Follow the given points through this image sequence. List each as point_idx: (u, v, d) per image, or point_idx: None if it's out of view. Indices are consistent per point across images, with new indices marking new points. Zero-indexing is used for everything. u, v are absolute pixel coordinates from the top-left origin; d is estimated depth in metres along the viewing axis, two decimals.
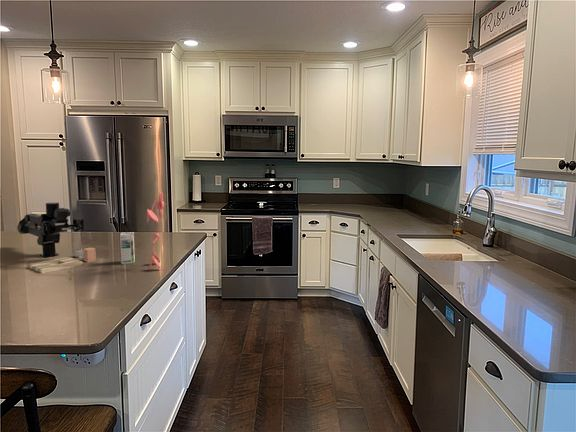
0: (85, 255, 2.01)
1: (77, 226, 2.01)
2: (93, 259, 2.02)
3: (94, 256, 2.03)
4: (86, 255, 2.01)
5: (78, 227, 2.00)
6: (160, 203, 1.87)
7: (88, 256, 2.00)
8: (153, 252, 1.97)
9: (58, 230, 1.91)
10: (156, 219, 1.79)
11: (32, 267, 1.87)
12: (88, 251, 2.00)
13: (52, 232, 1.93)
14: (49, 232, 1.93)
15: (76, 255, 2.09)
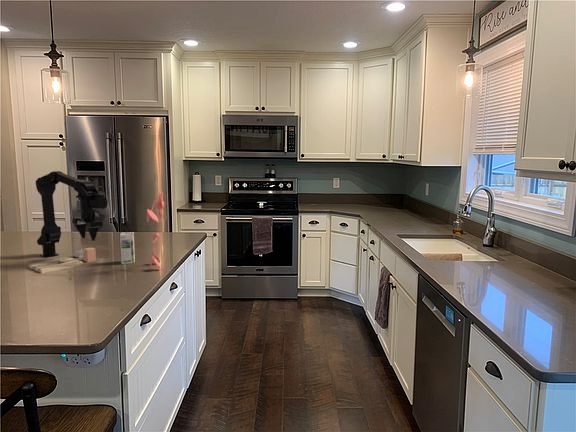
0: (85, 255, 2.01)
1: (83, 229, 2.04)
2: (93, 259, 2.02)
3: (94, 256, 2.03)
4: (86, 255, 2.01)
5: (83, 231, 2.04)
6: (160, 203, 1.87)
7: (88, 256, 2.00)
8: (153, 252, 1.97)
9: (93, 237, 1.98)
10: (156, 219, 1.79)
11: (32, 267, 1.87)
12: (88, 251, 2.00)
13: (91, 230, 1.96)
14: (91, 228, 1.95)
15: (76, 255, 2.09)
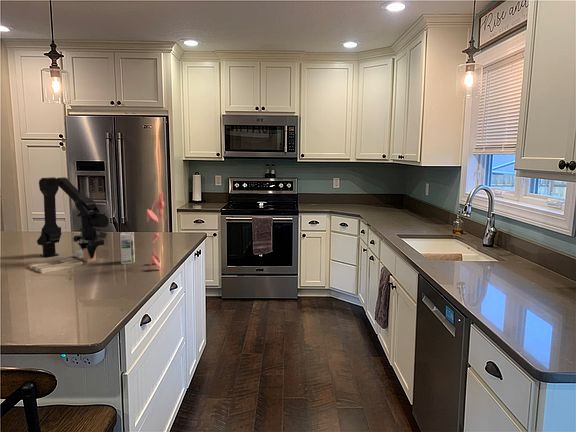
0: (85, 255, 2.01)
1: None
2: (93, 259, 2.02)
3: (94, 256, 2.03)
4: (86, 255, 2.01)
5: None
6: (160, 203, 1.87)
7: (88, 256, 2.00)
8: (153, 252, 1.97)
9: (91, 255, 2.01)
10: (156, 219, 1.79)
11: (32, 267, 1.87)
12: None
13: (89, 248, 1.98)
14: (90, 246, 1.98)
15: (76, 255, 2.09)
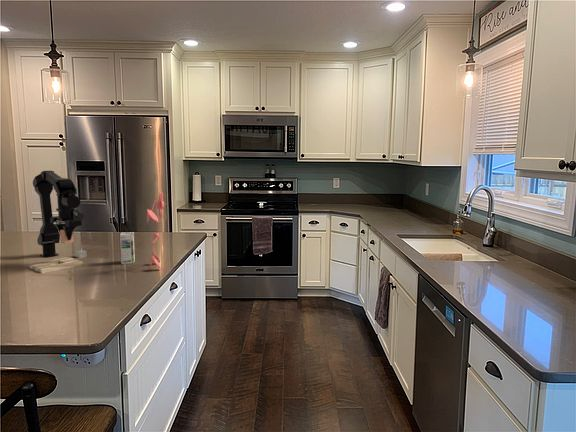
0: (62, 236, 1.93)
1: (64, 229, 1.95)
2: (71, 241, 1.94)
3: (72, 237, 1.94)
4: (63, 236, 1.92)
5: None
6: (160, 203, 1.87)
7: (65, 237, 1.92)
8: (153, 252, 1.97)
9: (69, 236, 1.92)
10: (156, 219, 1.79)
11: (32, 267, 1.87)
12: None
13: (66, 229, 1.90)
14: None
15: (76, 255, 2.09)
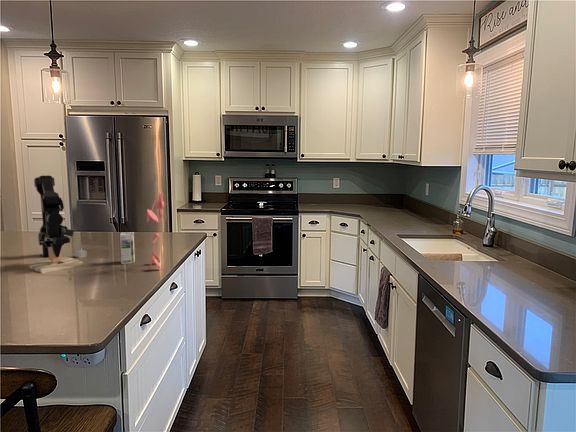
0: (50, 254, 1.90)
1: None
2: (59, 258, 1.91)
3: (60, 254, 1.92)
4: (51, 254, 1.90)
5: None
6: (160, 203, 1.87)
7: (53, 255, 1.89)
8: (153, 252, 1.97)
9: (57, 253, 1.90)
10: (156, 219, 1.79)
11: (32, 267, 1.87)
12: None
13: (54, 246, 1.87)
14: (54, 244, 1.87)
15: (76, 255, 2.09)
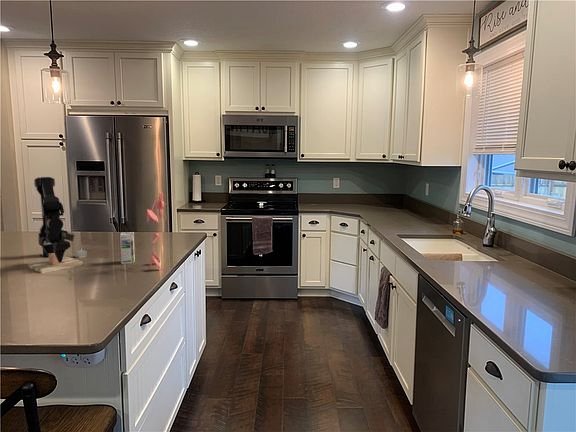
0: (50, 260, 1.91)
1: (50, 249, 1.94)
2: None
3: None
4: (51, 260, 1.90)
5: (50, 252, 1.94)
6: (160, 203, 1.87)
7: (53, 261, 1.90)
8: (153, 252, 1.97)
9: (59, 259, 1.89)
10: (156, 219, 1.79)
11: (32, 267, 1.87)
12: (53, 256, 1.89)
13: (57, 252, 1.86)
14: None
15: (76, 255, 2.09)
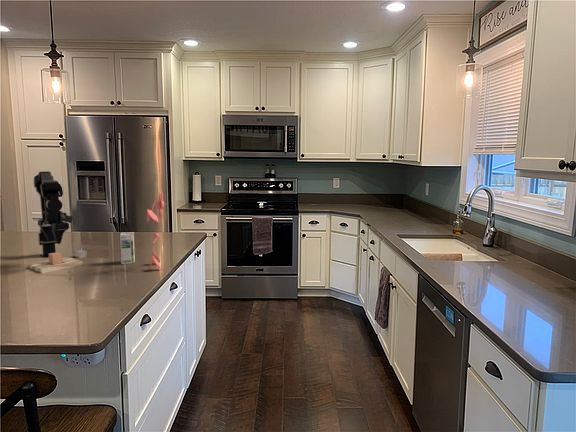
0: (50, 260, 1.91)
1: (49, 231, 1.95)
2: None
3: (60, 261, 1.92)
4: (51, 260, 1.90)
5: (49, 234, 1.95)
6: (160, 203, 1.87)
7: (54, 261, 1.90)
8: (153, 252, 1.97)
9: (58, 240, 1.89)
10: (156, 219, 1.79)
11: (32, 267, 1.87)
12: (53, 256, 1.89)
13: (56, 233, 1.86)
14: (56, 231, 1.86)
15: (76, 255, 2.09)
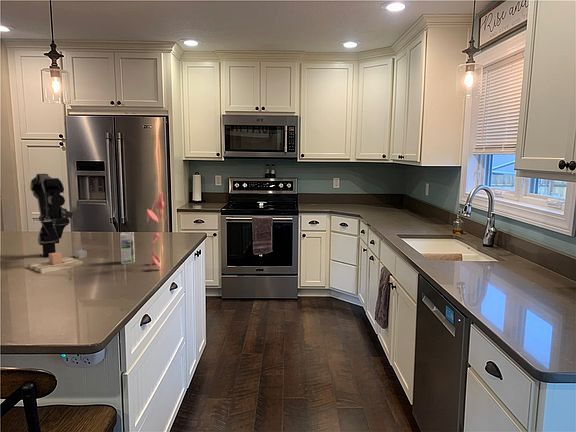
0: (50, 260, 1.91)
1: (50, 226, 2.01)
2: None
3: (60, 261, 1.92)
4: (51, 260, 1.90)
5: (50, 229, 2.01)
6: (160, 203, 1.87)
7: (54, 261, 1.90)
8: (153, 252, 1.97)
9: (59, 235, 1.95)
10: (156, 219, 1.79)
11: (32, 267, 1.87)
12: (53, 256, 1.89)
13: (56, 228, 1.93)
14: (57, 226, 1.92)
15: (76, 255, 2.09)
